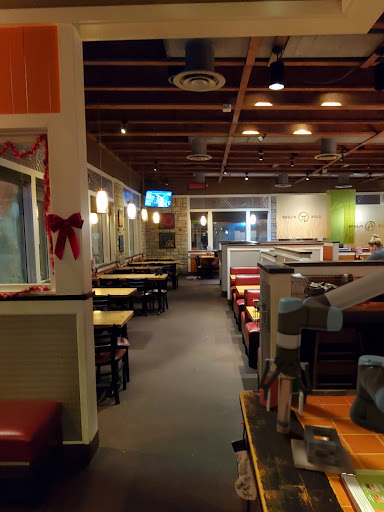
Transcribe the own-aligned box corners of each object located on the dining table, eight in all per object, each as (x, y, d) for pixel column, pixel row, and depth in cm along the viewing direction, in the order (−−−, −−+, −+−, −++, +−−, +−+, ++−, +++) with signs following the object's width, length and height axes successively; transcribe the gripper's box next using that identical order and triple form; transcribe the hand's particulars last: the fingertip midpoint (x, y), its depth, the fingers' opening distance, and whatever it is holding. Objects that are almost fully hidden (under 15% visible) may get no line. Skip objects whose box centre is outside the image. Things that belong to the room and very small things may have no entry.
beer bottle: (300, 406, 132) (304, 344, 130) (279, 404, 133) (283, 342, 131) (297, 397, 139) (301, 338, 138) (278, 394, 141) (281, 336, 139)
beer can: (277, 409, 129) (279, 378, 128) (259, 407, 130) (261, 376, 129) (277, 401, 135) (278, 371, 134) (259, 399, 137) (261, 369, 136)
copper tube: (288, 427, 117) (291, 375, 116) (289, 434, 113) (293, 381, 112) (276, 426, 118) (279, 374, 116) (276, 433, 114) (280, 379, 112)
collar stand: (344, 449, 106) (346, 427, 106) (356, 476, 94) (358, 452, 94) (290, 441, 109) (292, 420, 108) (295, 467, 97) (296, 443, 97)
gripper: (321, 344, 115) (317, 409, 116) (253, 338, 119) (249, 401, 120) (326, 352, 107) (321, 421, 109) (253, 345, 111) (249, 412, 113)
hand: (284, 411), depth 115 cm, fingers open, 10 cm apart
